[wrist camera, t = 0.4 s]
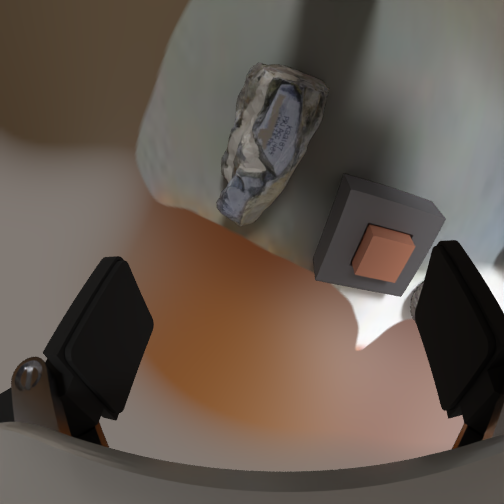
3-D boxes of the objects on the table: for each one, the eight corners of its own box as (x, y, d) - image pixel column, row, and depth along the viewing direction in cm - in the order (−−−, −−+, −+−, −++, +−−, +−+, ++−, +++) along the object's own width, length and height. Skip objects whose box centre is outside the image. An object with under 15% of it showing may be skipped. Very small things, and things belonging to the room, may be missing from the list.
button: (368, 223, 41) (373, 235, 39) (409, 234, 42) (415, 246, 39) (351, 261, 46) (354, 274, 43) (390, 270, 46) (394, 282, 43)
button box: (344, 173, 43) (351, 189, 38) (432, 201, 43) (445, 218, 39) (313, 258, 52) (315, 280, 48) (393, 275, 53) (401, 296, 48)
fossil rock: (269, 186, 49) (245, 253, 39) (215, 158, 48) (175, 218, 37) (338, 79, 34) (341, 116, 24) (272, 43, 33) (240, 62, 22)
